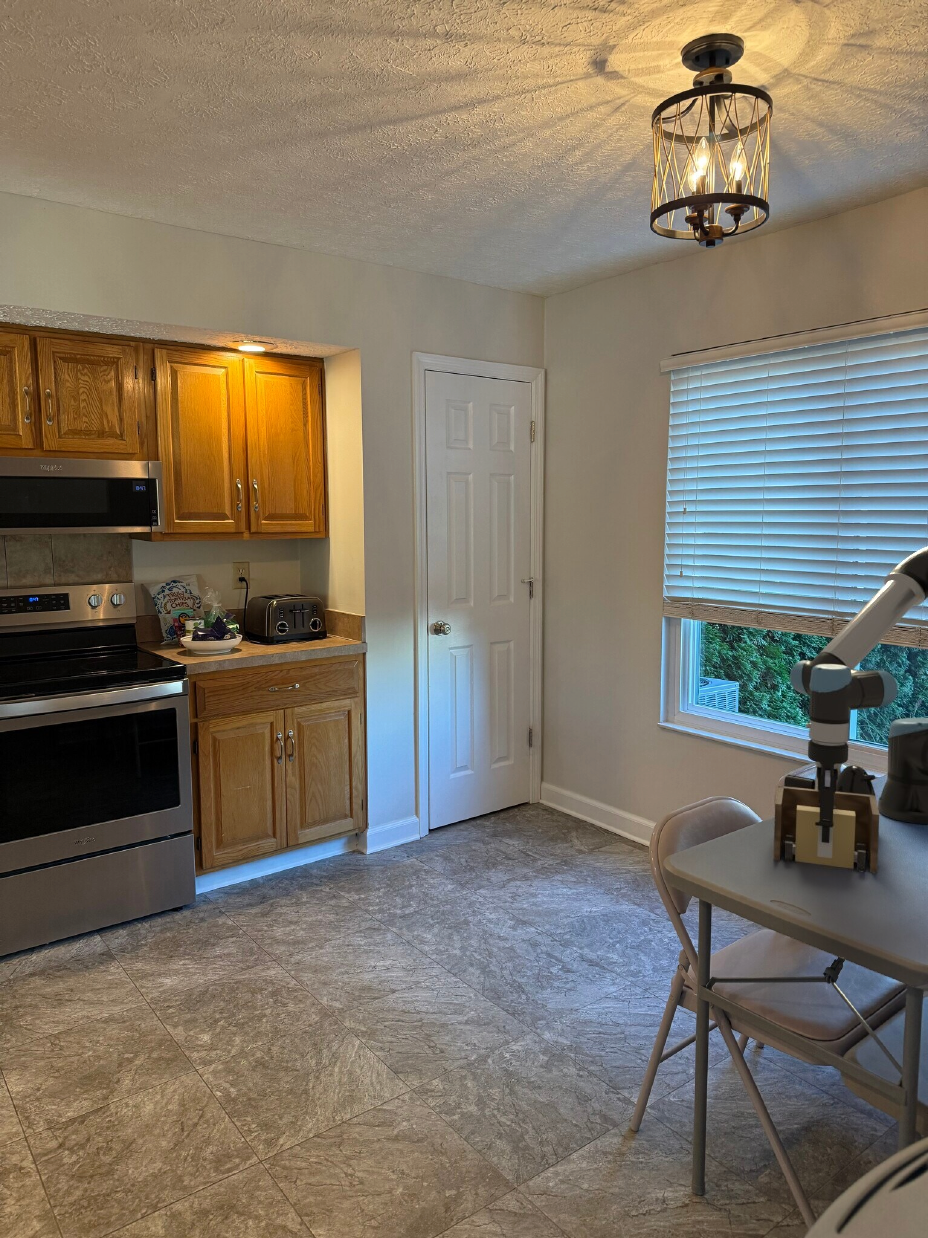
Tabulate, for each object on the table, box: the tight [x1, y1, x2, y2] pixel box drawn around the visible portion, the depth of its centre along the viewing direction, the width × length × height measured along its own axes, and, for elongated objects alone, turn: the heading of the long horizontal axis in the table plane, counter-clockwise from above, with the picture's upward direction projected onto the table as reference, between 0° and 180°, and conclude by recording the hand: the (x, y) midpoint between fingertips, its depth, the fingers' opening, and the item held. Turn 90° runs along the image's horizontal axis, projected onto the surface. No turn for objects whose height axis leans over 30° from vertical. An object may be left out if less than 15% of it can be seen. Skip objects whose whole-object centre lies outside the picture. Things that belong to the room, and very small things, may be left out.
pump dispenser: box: [836, 764, 878, 802], centre depth 194 cm, size 10×10×15 cm
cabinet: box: [773, 785, 880, 874], centre depth 180 cm, size 19×13×12 cm
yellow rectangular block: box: [792, 805, 858, 870], centre depth 176 cm, size 15×3×11 cm, turn 68°
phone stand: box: [783, 774, 815, 789], centre depth 196 cm, size 9×6×12 cm, turn 140°
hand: (824, 848), depth 176 cm, fingers open, 9 cm apart
